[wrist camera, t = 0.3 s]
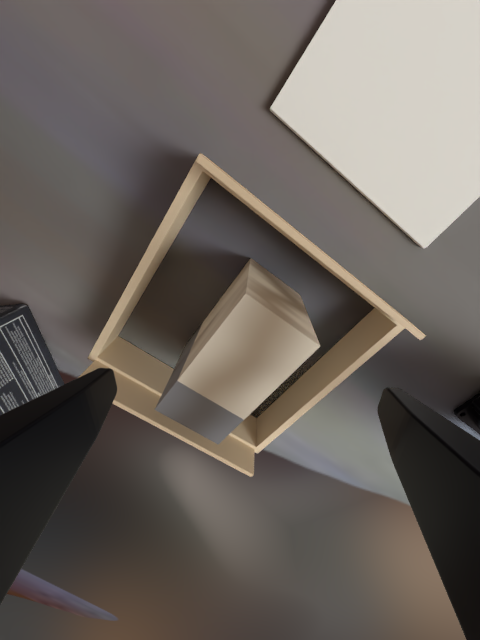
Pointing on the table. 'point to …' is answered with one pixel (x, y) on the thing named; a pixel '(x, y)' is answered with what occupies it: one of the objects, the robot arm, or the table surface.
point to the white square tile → (395, 106)
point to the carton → (153, 375)
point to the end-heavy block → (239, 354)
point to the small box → (23, 359)
